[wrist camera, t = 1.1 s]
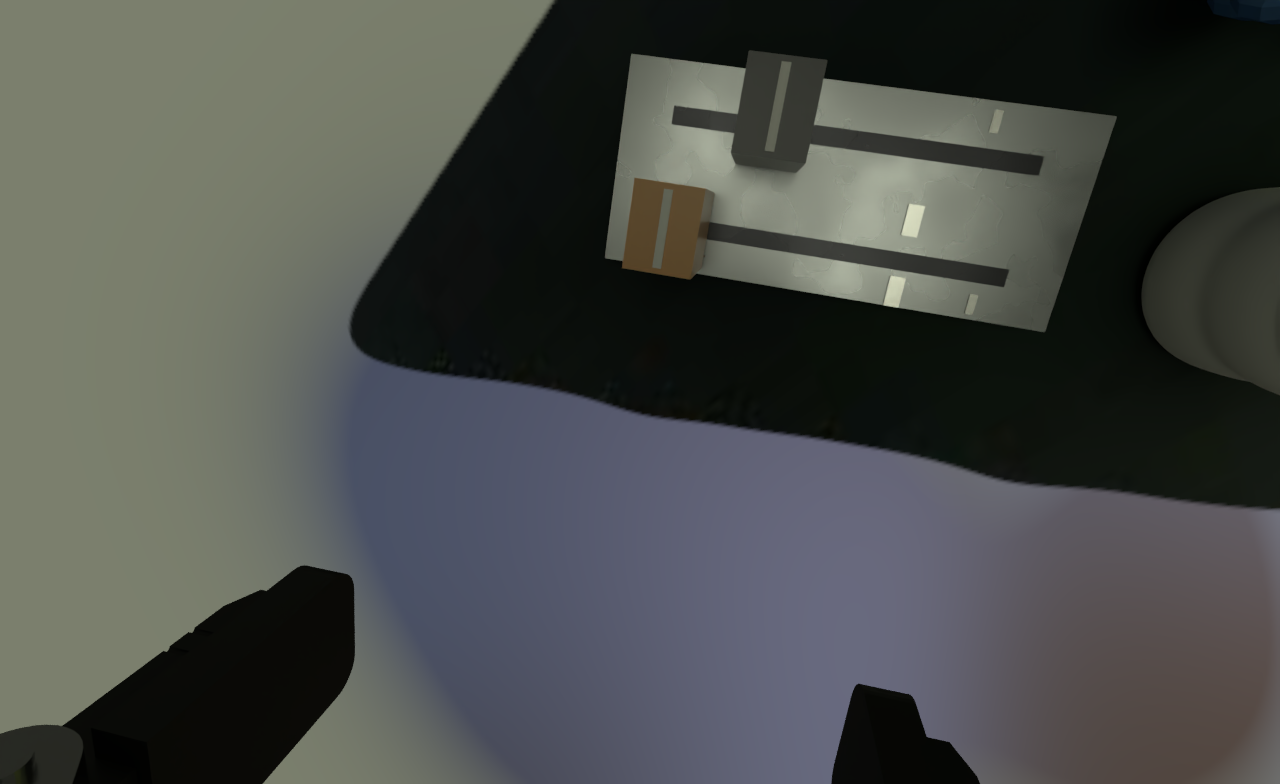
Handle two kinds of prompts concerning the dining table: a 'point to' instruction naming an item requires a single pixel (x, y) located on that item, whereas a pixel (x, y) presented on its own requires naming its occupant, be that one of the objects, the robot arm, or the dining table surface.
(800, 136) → the fader
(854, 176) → the console
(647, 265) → the fader
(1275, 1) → the grapes
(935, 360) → the dining table surface
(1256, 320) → the water bottle
